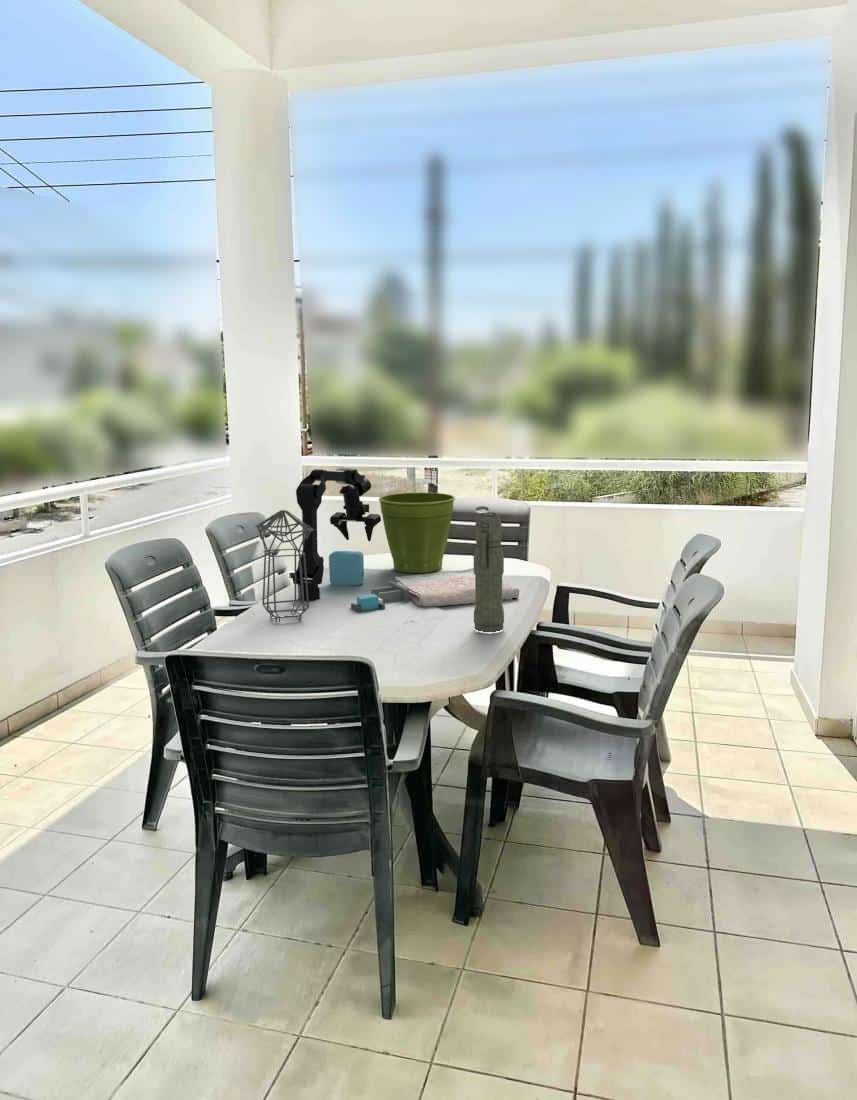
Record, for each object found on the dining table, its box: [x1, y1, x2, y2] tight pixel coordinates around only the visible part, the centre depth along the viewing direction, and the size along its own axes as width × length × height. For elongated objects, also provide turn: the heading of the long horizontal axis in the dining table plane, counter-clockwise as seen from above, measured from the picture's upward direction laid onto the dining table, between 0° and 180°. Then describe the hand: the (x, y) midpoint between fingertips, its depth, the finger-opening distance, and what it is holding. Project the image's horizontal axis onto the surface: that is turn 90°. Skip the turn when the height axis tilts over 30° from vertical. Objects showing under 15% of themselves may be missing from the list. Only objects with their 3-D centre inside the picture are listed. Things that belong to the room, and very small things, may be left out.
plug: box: [356, 593, 384, 611], centre depth 283 cm, size 8×4×4 cm, turn 116°
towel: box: [394, 567, 520, 608], centre depth 303 cm, size 36×34×6 cm
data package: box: [328, 550, 365, 586], centre depth 320 cm, size 12×4×12 cm, turn 79°
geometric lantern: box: [254, 509, 313, 623], centre depth 270 cm, size 16×16×35 cm
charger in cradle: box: [350, 602, 386, 613], centre depth 283 cm, size 9×7×2 cm
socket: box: [370, 580, 410, 603], centre depth 295 cm, size 9×14×5 cm, turn 26°
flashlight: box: [473, 512, 505, 632], centre depth 255 cm, size 9×12×35 cm
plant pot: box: [378, 492, 456, 574], centre depth 342 cm, size 30×30×29 cm
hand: (358, 540), depth 324 cm, fingers open, 9 cm apart
